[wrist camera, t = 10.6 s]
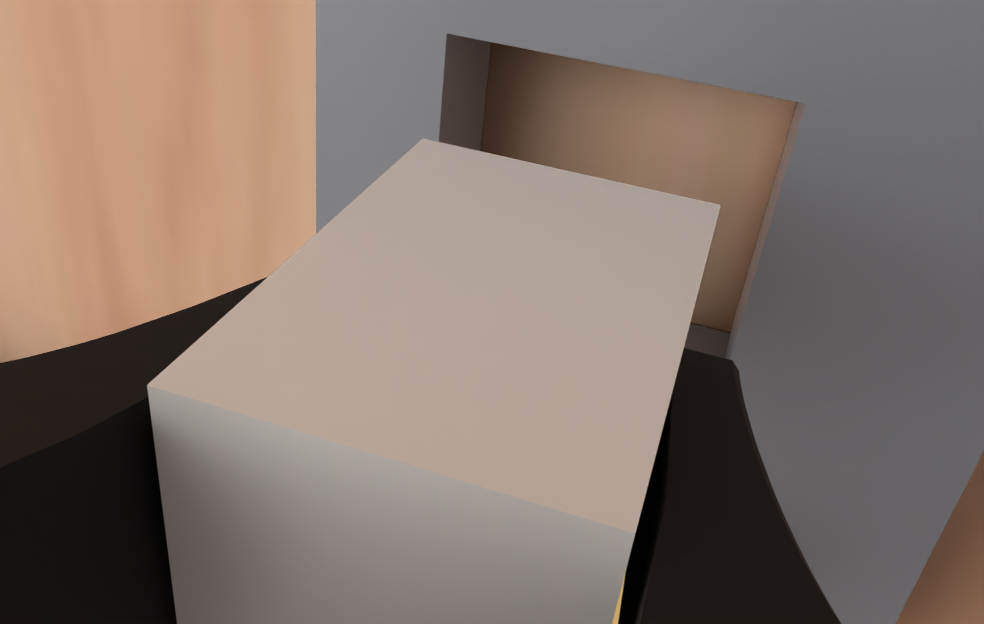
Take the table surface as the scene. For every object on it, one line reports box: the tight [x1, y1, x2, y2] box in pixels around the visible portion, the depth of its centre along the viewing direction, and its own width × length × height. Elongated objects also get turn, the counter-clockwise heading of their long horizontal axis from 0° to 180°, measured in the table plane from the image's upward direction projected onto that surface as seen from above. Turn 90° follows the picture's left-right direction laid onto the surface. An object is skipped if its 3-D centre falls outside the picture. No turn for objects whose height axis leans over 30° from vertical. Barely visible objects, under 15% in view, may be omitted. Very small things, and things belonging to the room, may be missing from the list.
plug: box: [147, 139, 721, 624], centre depth 10 cm, size 4×4×6 cm
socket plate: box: [316, 0, 984, 624], centre depth 16 cm, size 12×18×2 cm, turn 175°
